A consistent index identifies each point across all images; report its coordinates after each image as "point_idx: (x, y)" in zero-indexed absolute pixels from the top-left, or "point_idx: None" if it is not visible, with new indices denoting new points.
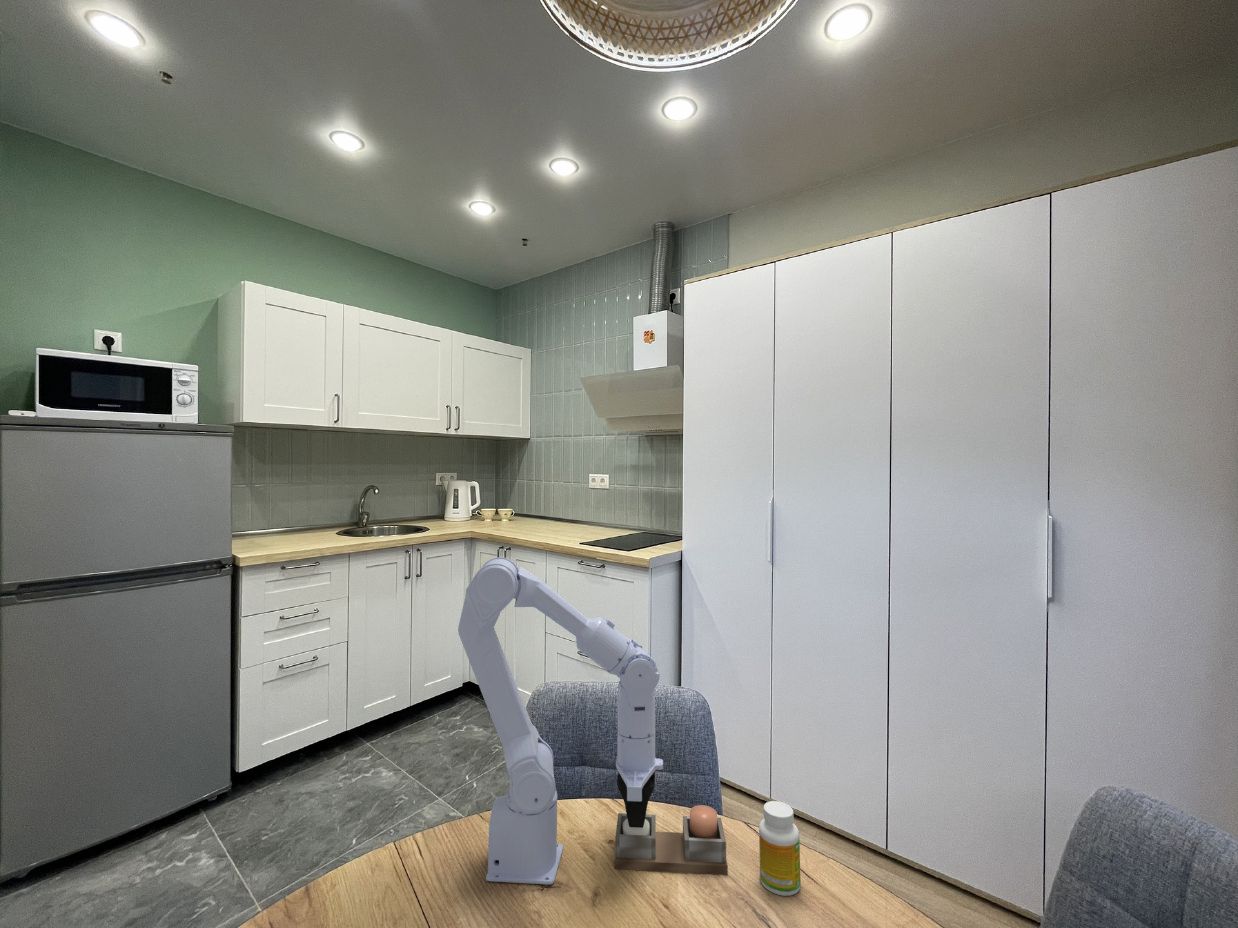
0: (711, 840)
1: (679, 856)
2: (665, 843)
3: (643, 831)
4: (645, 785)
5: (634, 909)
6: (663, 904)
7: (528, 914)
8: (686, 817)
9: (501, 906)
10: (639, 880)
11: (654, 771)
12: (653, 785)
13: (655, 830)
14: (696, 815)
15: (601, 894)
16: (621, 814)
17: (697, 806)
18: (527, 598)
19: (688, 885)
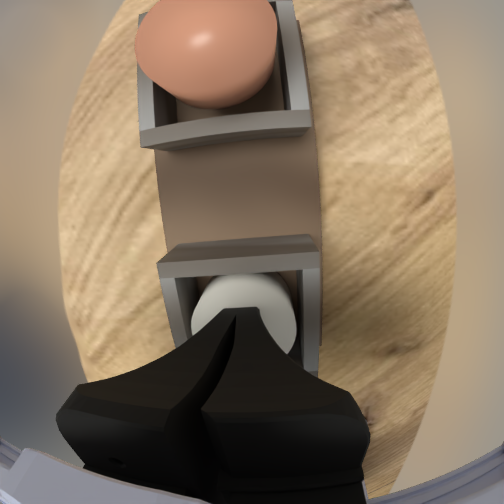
0: (293, 29)
1: (281, 155)
2: (222, 206)
3: (284, 303)
4: (342, 462)
5: (436, 267)
6: (424, 202)
7: (416, 418)
8: (147, 130)
9: (395, 446)
10: (354, 268)
11: (94, 420)
12: (348, 421)
13: (263, 255)
14: (232, 55)
15: (394, 341)
16: None
17: (147, 62)
18: None
19: (358, 133)
